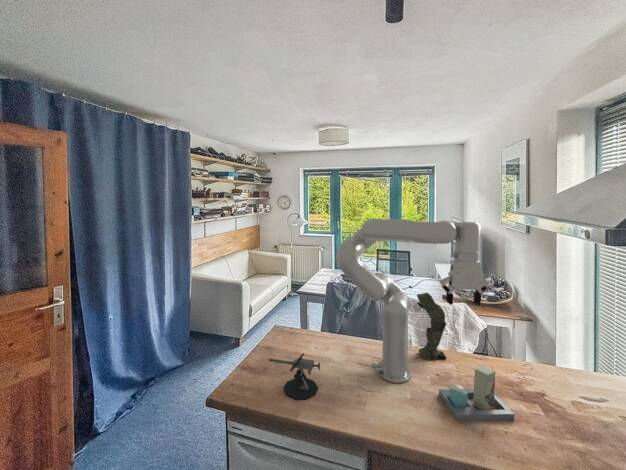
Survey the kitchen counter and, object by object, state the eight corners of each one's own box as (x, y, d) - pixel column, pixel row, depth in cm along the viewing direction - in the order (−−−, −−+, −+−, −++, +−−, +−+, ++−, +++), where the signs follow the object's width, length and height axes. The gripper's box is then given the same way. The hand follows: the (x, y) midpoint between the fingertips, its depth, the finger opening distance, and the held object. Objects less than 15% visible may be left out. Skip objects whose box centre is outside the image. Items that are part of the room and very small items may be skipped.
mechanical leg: (450, 351, 137) (436, 288, 135) (456, 359, 130) (441, 292, 128) (419, 356, 139) (405, 294, 137) (423, 365, 132) (408, 299, 130)
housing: (456, 421, 94) (457, 414, 94) (439, 394, 107) (439, 389, 107) (514, 419, 95) (514, 413, 94) (489, 394, 107) (489, 388, 107)
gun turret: (275, 374, 121) (274, 343, 120) (323, 382, 115) (323, 350, 114) (260, 393, 109) (259, 359, 107) (314, 403, 103) (313, 367, 102)
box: (485, 413, 98) (487, 375, 96) (472, 405, 101) (474, 369, 100) (494, 407, 100) (496, 370, 99) (481, 400, 104) (483, 364, 103)
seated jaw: (454, 411, 99) (455, 391, 98) (449, 403, 103) (449, 383, 102) (466, 411, 99) (467, 390, 98) (460, 403, 103) (461, 383, 102)
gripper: (446, 258, 104) (443, 307, 105) (497, 259, 103) (493, 307, 105) (437, 254, 111) (435, 300, 113) (484, 255, 111) (481, 300, 113)
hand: (463, 303), depth 109 cm, fingers open, 9 cm apart
